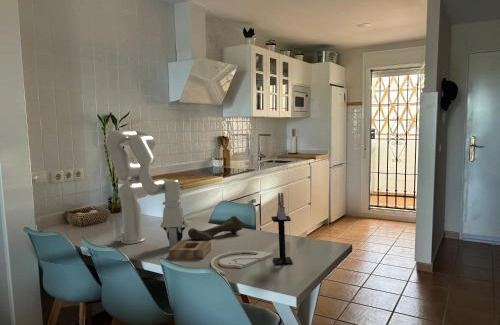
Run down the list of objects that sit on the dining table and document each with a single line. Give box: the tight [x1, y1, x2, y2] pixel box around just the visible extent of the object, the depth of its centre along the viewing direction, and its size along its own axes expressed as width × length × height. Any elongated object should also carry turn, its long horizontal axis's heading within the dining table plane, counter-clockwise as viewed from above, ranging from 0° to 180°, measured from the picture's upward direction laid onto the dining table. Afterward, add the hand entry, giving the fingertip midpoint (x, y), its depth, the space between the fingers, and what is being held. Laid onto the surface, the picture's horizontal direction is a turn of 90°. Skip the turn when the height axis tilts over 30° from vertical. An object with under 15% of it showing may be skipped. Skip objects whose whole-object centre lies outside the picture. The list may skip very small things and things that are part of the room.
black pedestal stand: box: [271, 192, 294, 266], centre depth 167 cm, size 10×8×30 cm
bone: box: [187, 215, 245, 241], centre depth 214 cm, size 10×10×30 cm
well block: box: [168, 240, 212, 260], centre depth 185 cm, size 16×14×4 cm
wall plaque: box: [210, 250, 274, 276], centre depth 173 cm, size 19×2×30 cm
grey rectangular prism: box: [168, 227, 182, 249], centre depth 199 cm, size 4×7×10 cm, turn 171°
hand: (175, 239), depth 199 cm, fingers open, 4 cm apart
